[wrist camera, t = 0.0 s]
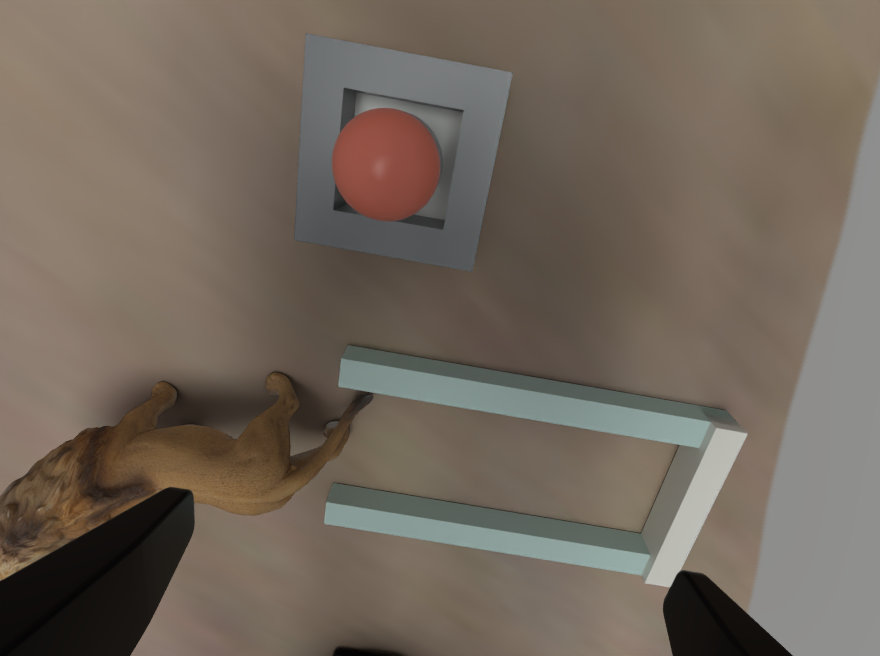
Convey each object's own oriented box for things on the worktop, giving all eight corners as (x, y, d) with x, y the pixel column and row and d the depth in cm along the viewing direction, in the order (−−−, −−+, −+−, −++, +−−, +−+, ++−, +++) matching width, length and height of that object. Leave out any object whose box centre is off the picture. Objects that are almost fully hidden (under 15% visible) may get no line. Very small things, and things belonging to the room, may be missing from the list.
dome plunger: (434, 217, 18) (427, 239, 14) (344, 201, 18) (314, 219, 14) (450, 120, 17) (447, 117, 13) (353, 102, 17) (323, 94, 13)
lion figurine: (134, 472, 27) (-9, 623, 19) (89, 390, 25) (-93, 519, 17) (387, 430, 25) (351, 577, 17) (359, 339, 23) (303, 455, 15)
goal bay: (657, 557, 28) (672, 587, 26) (330, 503, 27) (321, 530, 26) (725, 410, 24) (748, 433, 22) (348, 345, 24) (338, 363, 22)
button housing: (470, 254, 22) (472, 272, 19) (315, 226, 21) (294, 240, 19) (505, 81, 19) (513, 72, 16) (328, 47, 19) (305, 33, 16)
